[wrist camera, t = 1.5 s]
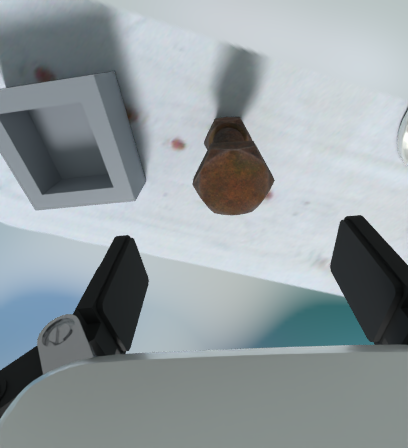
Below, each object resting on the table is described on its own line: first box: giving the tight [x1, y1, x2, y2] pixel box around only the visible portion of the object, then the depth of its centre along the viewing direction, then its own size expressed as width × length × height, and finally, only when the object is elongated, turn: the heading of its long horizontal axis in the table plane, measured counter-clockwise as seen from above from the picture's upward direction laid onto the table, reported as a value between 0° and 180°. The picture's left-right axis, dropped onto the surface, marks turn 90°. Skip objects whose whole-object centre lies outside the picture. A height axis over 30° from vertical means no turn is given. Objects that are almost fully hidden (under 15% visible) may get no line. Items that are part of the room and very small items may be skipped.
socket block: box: [0, 71, 146, 210], centre depth 28 cm, size 13×13×6 cm
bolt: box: [193, 117, 275, 215], centre depth 23 cm, size 6×5×15 cm
